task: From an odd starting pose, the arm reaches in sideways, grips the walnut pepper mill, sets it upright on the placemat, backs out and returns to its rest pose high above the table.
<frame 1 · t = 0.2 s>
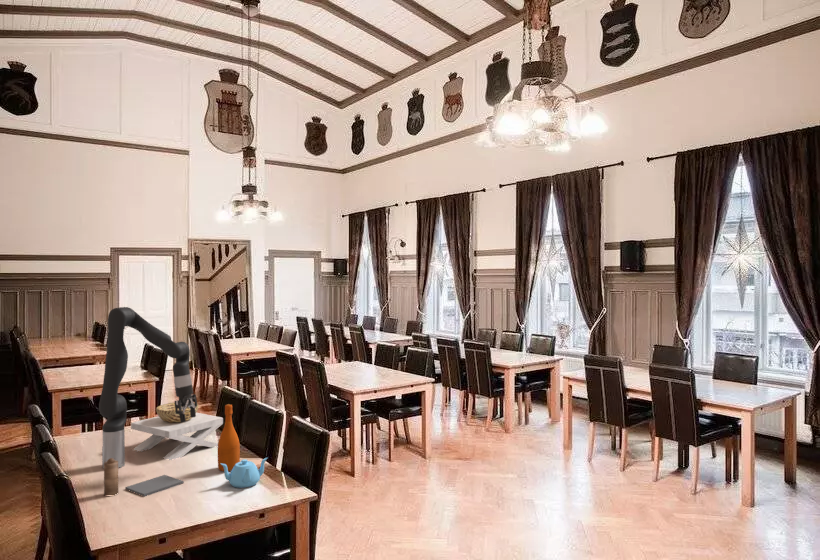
hand: (188, 419, 267), 23 cm above the table, tool pointing down, fingers open, 8 cm apart
white x-leg bench: (177, 447, 301), on the table
teapot: (244, 484, 248), on the table
pepper mill: (111, 494, 237), on the table
wine bottle: (228, 469, 267), on the table
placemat: (154, 486, 246), on the table
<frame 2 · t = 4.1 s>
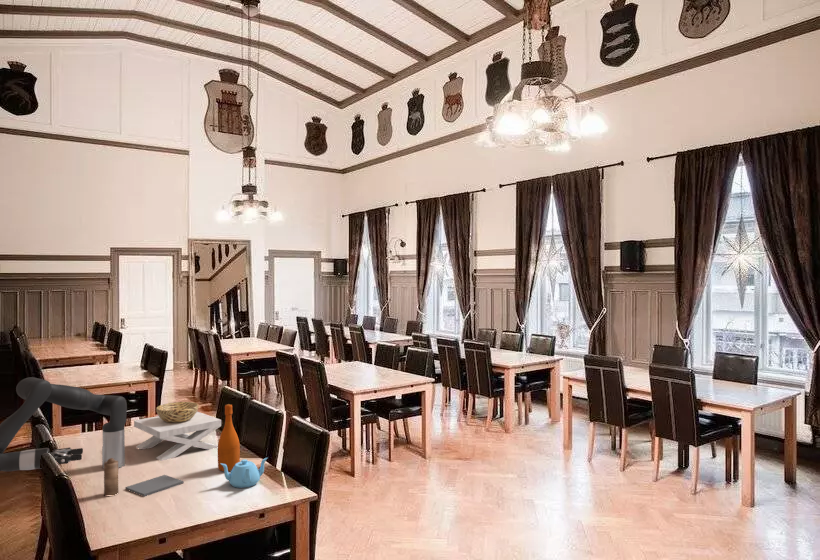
hand: (82, 453, 232), 18 cm above the table, tool horizontal, fingers open, 8 cm apart
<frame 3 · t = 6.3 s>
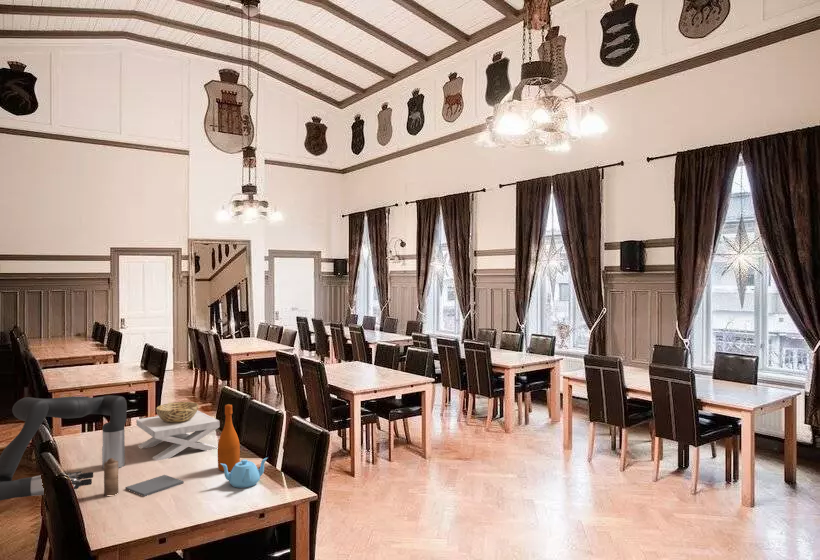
hand: (92, 478, 234), 8 cm above the table, tool horizontal, fingers open, 8 cm apart
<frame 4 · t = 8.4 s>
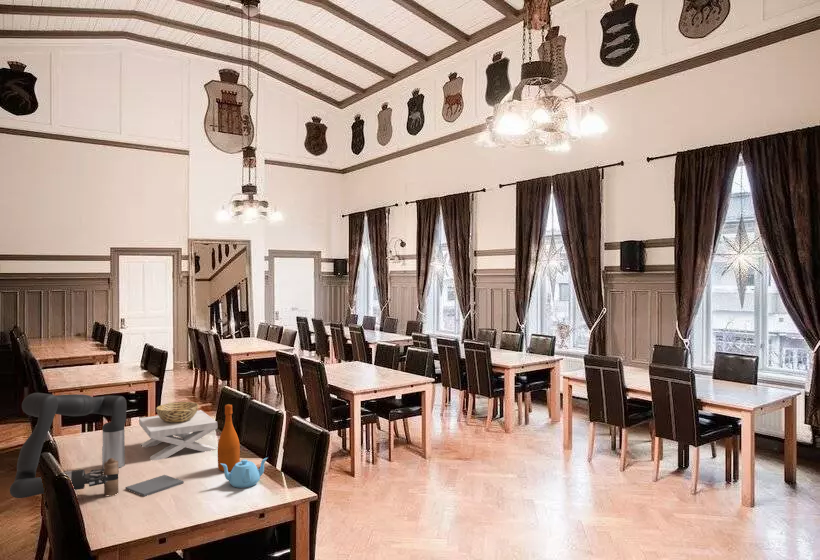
hand: (118, 474, 238), 8 cm above the table, tool horizontal, fingers closed on pepper mill, 5 cm apart
pepper mill: (111, 493, 237), on the table, touching gripper
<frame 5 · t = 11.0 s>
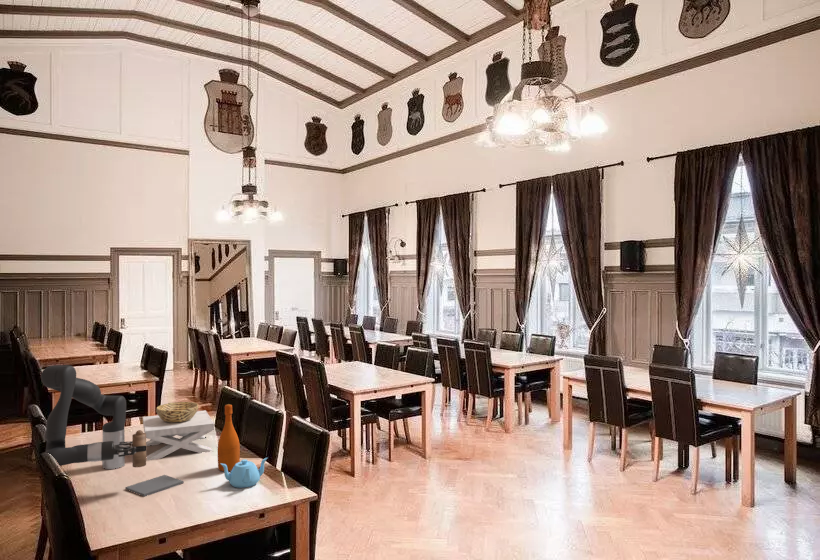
hand: (146, 446, 243), 18 cm above the table, tool horizontal, fingers closed on pepper mill, 5 cm apart
pepper mill: (139, 465, 242), point 10 cm above the table, touching gripper
when the fingers open (10 cm above the table, at t = 13.8 s): pepper mill drops 1 cm, resting on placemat.
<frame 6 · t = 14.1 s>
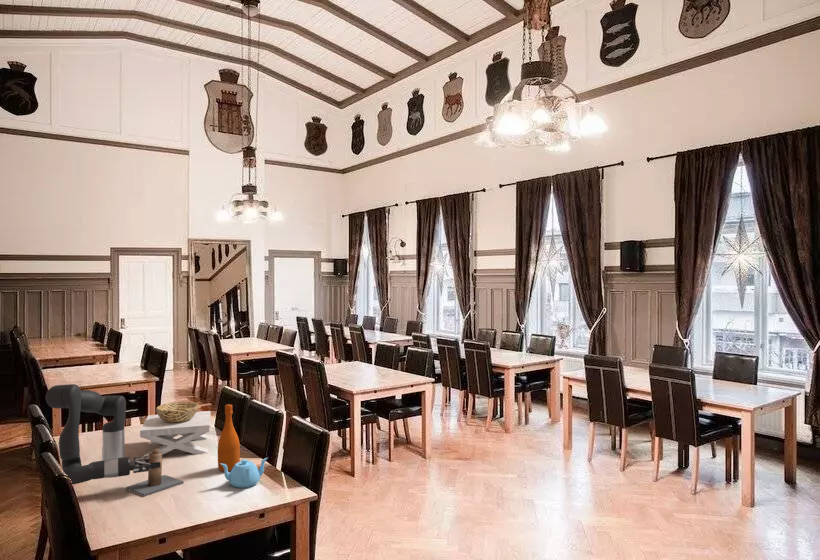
hand: (160, 461, 246), 10 cm above the table, tool horizontal, fingers open, 7 cm apart
pepper mill: (154, 483, 245), point 1 cm above the table, touching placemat
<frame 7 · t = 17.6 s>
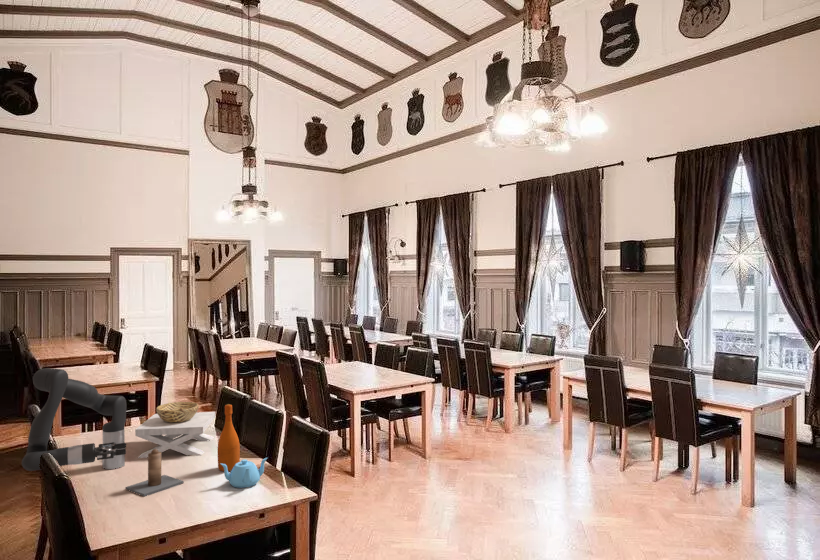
hand: (126, 448, 241), 18 cm above the table, tool horizontal, fingers open, 8 cm apart
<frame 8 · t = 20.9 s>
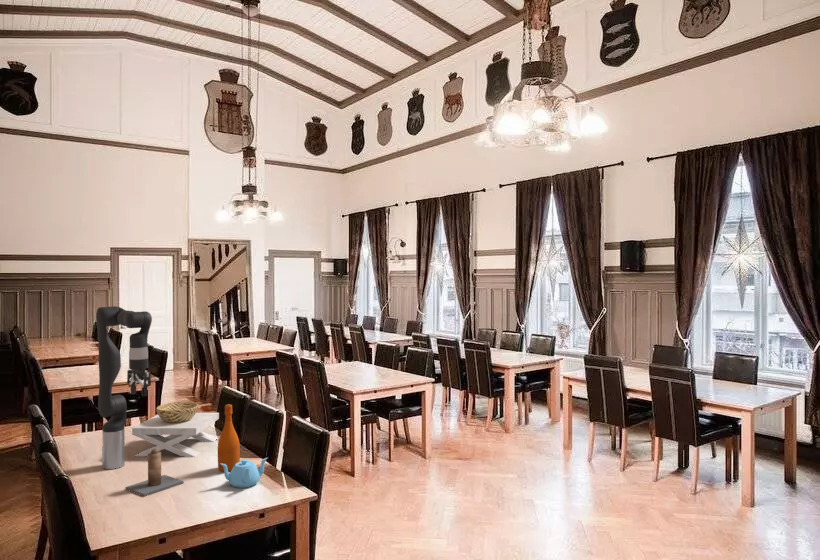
hand: (138, 394, 250), 38 cm above the table, tool pointing down, fingers open, 8 cm apart
at the end: pepper mill inside the target area on the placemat (0.1 cm from its centre), point 1.1 cm above the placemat's base; pepper mill tilted 2°; the gripper is holding nothing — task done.
